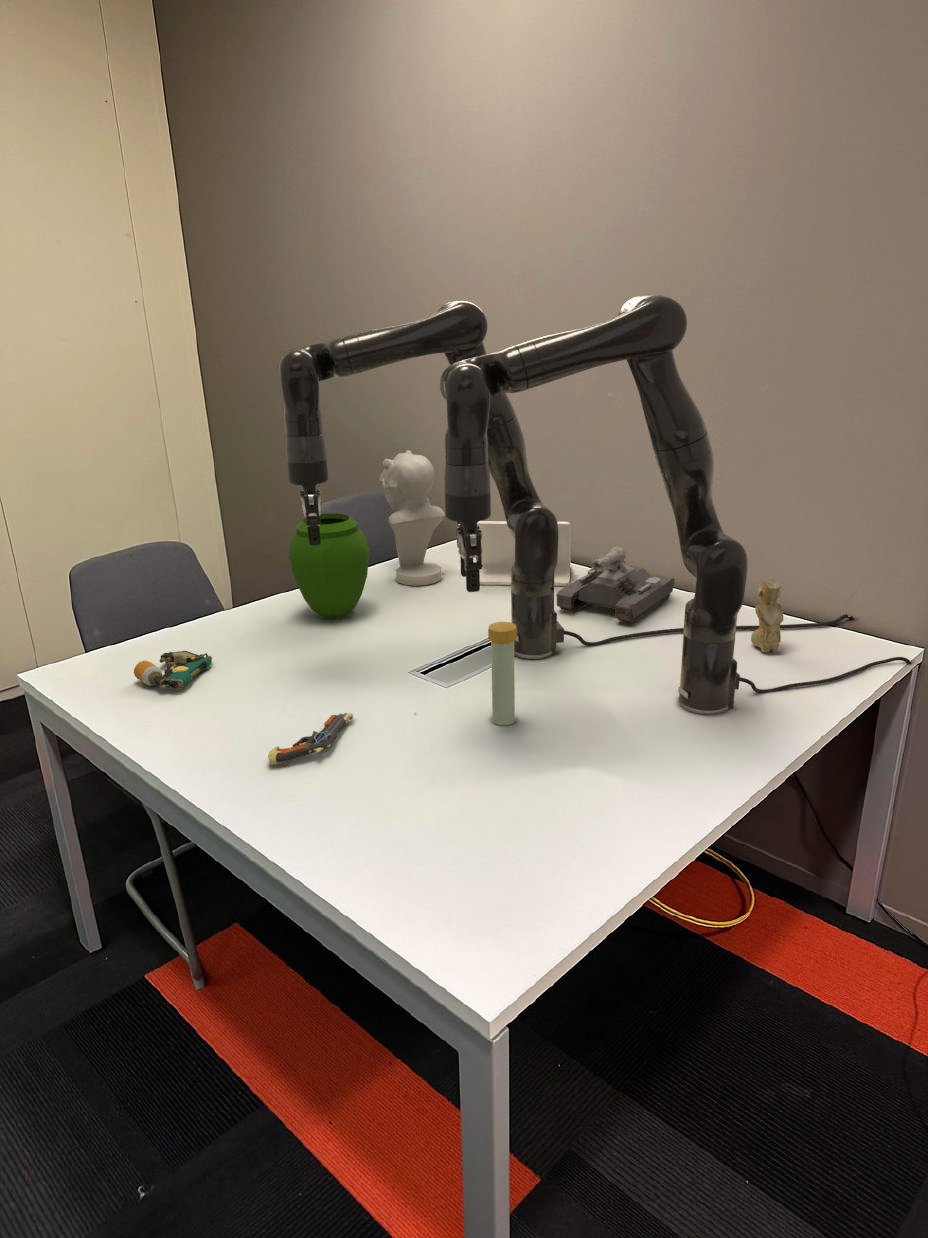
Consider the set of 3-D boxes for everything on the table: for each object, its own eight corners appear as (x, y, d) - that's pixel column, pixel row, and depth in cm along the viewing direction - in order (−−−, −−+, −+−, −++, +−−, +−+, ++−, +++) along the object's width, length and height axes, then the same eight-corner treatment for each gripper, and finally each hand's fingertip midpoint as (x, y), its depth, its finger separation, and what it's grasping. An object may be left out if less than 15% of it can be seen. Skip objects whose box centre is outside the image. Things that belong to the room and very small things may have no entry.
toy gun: (262, 754, 143) (318, 752, 141) (303, 710, 161) (353, 708, 159) (266, 769, 144) (321, 767, 142) (306, 724, 162) (356, 721, 160)
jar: (511, 713, 160) (510, 623, 154) (517, 723, 157) (516, 631, 150) (490, 716, 159) (488, 626, 153) (495, 726, 156) (494, 634, 149)
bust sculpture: (418, 559, 256) (413, 441, 244) (456, 580, 236) (452, 453, 224) (369, 568, 249) (360, 447, 237) (403, 590, 229) (396, 460, 217)
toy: (603, 584, 229) (605, 530, 224) (673, 597, 218) (677, 540, 213) (555, 612, 210) (556, 553, 205) (630, 627, 199) (633, 566, 194)
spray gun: (177, 659, 191) (231, 671, 185) (120, 684, 176) (176, 698, 171) (176, 641, 190) (230, 653, 184) (118, 665, 175) (174, 678, 169)
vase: (389, 608, 216) (383, 514, 208) (339, 633, 201) (330, 533, 192) (330, 596, 226) (322, 506, 218) (278, 619, 211) (267, 523, 202)
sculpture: (772, 641, 189) (778, 577, 184) (784, 654, 182) (792, 587, 177) (746, 642, 189) (752, 578, 183) (758, 655, 182) (764, 588, 177)
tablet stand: (569, 585, 229) (570, 524, 223) (476, 584, 232) (475, 523, 226) (570, 566, 246) (571, 508, 240) (484, 564, 249) (483, 507, 243)
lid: (512, 632, 155) (512, 620, 154) (520, 642, 150) (520, 629, 150) (485, 635, 154) (484, 623, 153) (492, 645, 149) (492, 633, 149)
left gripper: (328, 462, 158) (335, 547, 164) (324, 450, 171) (331, 529, 177) (287, 465, 157) (295, 550, 162) (286, 452, 170) (294, 532, 176)
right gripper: (496, 497, 133) (498, 595, 139) (484, 479, 147) (486, 569, 152) (448, 500, 133) (452, 598, 139) (441, 482, 146) (444, 572, 152)
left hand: (314, 539), depth 170 cm, fingers open, 8 cm apart
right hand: (470, 583), depth 145 cm, fingers open, 8 cm apart
